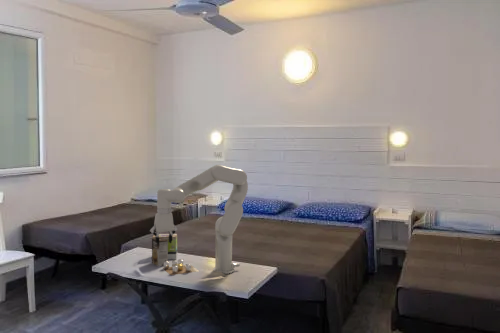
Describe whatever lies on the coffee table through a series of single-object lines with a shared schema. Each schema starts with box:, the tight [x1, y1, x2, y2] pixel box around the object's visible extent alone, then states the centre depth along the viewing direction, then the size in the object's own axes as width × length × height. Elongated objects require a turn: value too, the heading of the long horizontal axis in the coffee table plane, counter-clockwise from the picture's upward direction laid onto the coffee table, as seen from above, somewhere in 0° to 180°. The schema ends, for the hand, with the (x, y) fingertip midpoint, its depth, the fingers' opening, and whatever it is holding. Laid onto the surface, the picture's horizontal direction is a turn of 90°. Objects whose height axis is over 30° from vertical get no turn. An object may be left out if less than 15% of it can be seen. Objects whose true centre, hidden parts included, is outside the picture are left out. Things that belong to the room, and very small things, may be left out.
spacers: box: [163, 258, 192, 275], centre depth 243 cm, size 12×14×4 cm
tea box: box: [151, 233, 178, 260], centre depth 273 cm, size 15×10×15 cm
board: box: [162, 264, 200, 276], centre depth 244 cm, size 17×15×1 cm
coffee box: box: [151, 237, 169, 267], centre depth 255 cm, size 9×6×16 cm
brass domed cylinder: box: [175, 263, 183, 271], centre depth 243 cm, size 4×4×3 cm
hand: (163, 242), depth 238 cm, fingers open, 6 cm apart
